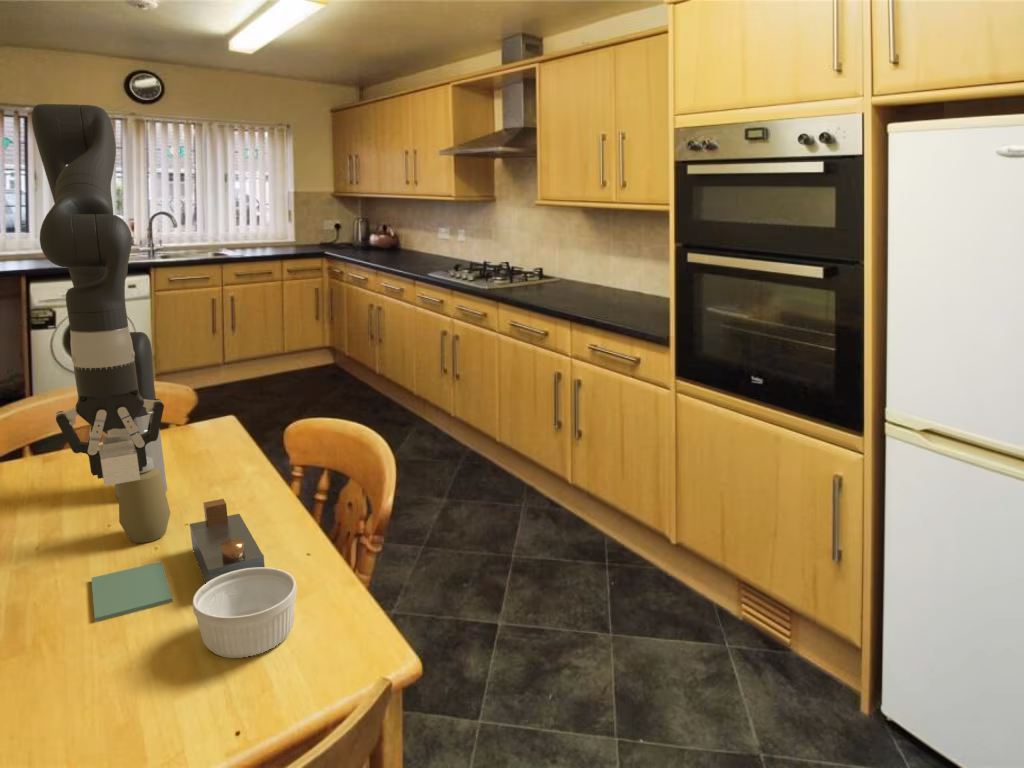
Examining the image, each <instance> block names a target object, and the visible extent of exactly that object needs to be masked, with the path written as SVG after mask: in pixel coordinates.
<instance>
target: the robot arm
mask: <svg viewBox="0 0 1024 768" xmlns="http://www.w3.org/2000/svg"><path fill="white" fill-rule="evenodd" d="M31 122H32V123H31V124H32V131H33V135H34V138H35V143H36V145H37V149H38V152H39V156H40V159H41V162H42V165H43V169H44V172H45V176H46V178H47V182H48V185H49V190H50V193H51V196H52V199H53V203H54V204H53V205H52V207H51V208H50V210H49V211H48V212H47V213H46V215H45V217H44V219H43V221H42V223H41V227H40V230H39V231H40V232H39V245H40V248H41V251H42V253H43V255H44V257H45V258H46V259H47V260H48V261H49V262H50V263H51V264H53V265H56V266H57V267H59V268H66V269H67V268H68V272H69V275H70V279H71V282H72V287H71V288H69V289H67V291H66V293H65V305H66V311H67V318H68V324H69V329H70V331H69V332H70V333H69V334H70V352H71V362H72V365H73V372H74V378H75V383H76V384H75V386H76V392H77V402H76V405H75V407H73V408H70V409H67V410H65V411H64V410H60V411H57V412H56V413H55V421H56V423H57V425H58V427H59V429H60V430H61V432H62V435H63V436H64V438H65V440H66V441H67V443H68V446H69V447H70V449H71V451H72V452H73V453H75V454H81V453H82V454H86V455H87V456H88V461H89V468H90V474H92V476H97V479H98V480H101V479H103V474H102V467H101V460H100V454H99V450H98V447H99V445H100V443H101V440H102V435H103V432H107V438H111V437H118V436H125V435H127V438H128V440H133V441H134V443H135V445H134V447H135V450H136V452H137V458H138V466H139V472H140V471H143V468H142V467H146V465H147V459H146V456H148V457H151V458H152V459H153V465H154V467H153V468H156V469H158V470H159V471H160V473H161V477H162V481H163V485H164V489H165V492H166V491H167V490H168V487H167V486H168V484H167V477H166V469H165V461H164V453H163V452H164V451H163V445H162V437H161V436H162V435H161V429H160V428H161V422H162V418H163V413H164V408H165V404H164V403H163V401H162V400H161V399H160V398H157V396H156V389H155V379H154V378H155V377H154V367H153V366H154V365H153V364H154V362H153V361H154V360H153V350H152V348H153V347H152V345H151V340H150V338H149V336H148V335H147V333H145V332H144V331H143V332H142V331H130V329H129V323H128V315H127V307H126V294H125V293H126V291H125V289H126V279H127V276H128V271H129V269H128V268H129V267H128V265H129V261H130V256H131V252H132V245H133V239H132V238H133V237H132V232H131V229H130V227H129V225H128V224H127V223H126V221H124V219H123V218H122V217H120V216H118V215H115V214H114V206H113V197H112V187H111V186H112V179H113V177H114V175H113V174H114V171H115V164H116V157H117V156H116V155H117V146H116V145H117V144H116V138H115V137H116V136H115V132H114V127H113V124H112V121H111V118H110V116H109V114H108V113H107V112H106V110H105V109H103V108H102V107H100V106H97V105H93V104H92V105H91V104H71V103H70V104H67V103H65V104H64V103H58V104H57V103H42V104H41V103H39V104H36V105H34V107H33V108H32V112H31ZM77 416H80V418H82V420H84V421H85V422H86V423H87V424H89V426H90V428H89V436H88V439H87V442H85V441H81V440H80V438H79V436H78V433H77V432H76V430H75V429H74V425H75V424H76V423H77V422H76V417H77ZM114 488H115V493H116V498H117V499H118V500H119V484H114Z"/></svg>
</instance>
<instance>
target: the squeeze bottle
mask: <svg viewBox="0 0 1024 768" xmlns="http://www.w3.org/2000/svg"><path fill="white" fill-rule="evenodd" d="M132 441H133V440H132ZM133 444H134V445H135V443H134V441H133ZM146 459H147V465H146V467H142V468H143V471H140V472H139V473H140V480H135V481H130V482H124V483H119V499H118V518H119V519H118V522H119V524H120V526H121V528H122V529H123V530H124V533H125V534H126V536H127V538H128V540H129V542H132V543H136V544H137V543H138V544H143V543H149V542H153V541H156V540H159V539H160V538H162V537H164V536H166V532H167V529H168V524H169V522H170V521H169V520H170V517H171V509H170V505H169V502H168V498H167V494H166V491H165V489H164V485H163V481H162V477H161V473H160V471H159V470H158V469H156V468H153V467H154V465H153V459H152V458H151V457H148V456H146Z"/></svg>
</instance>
